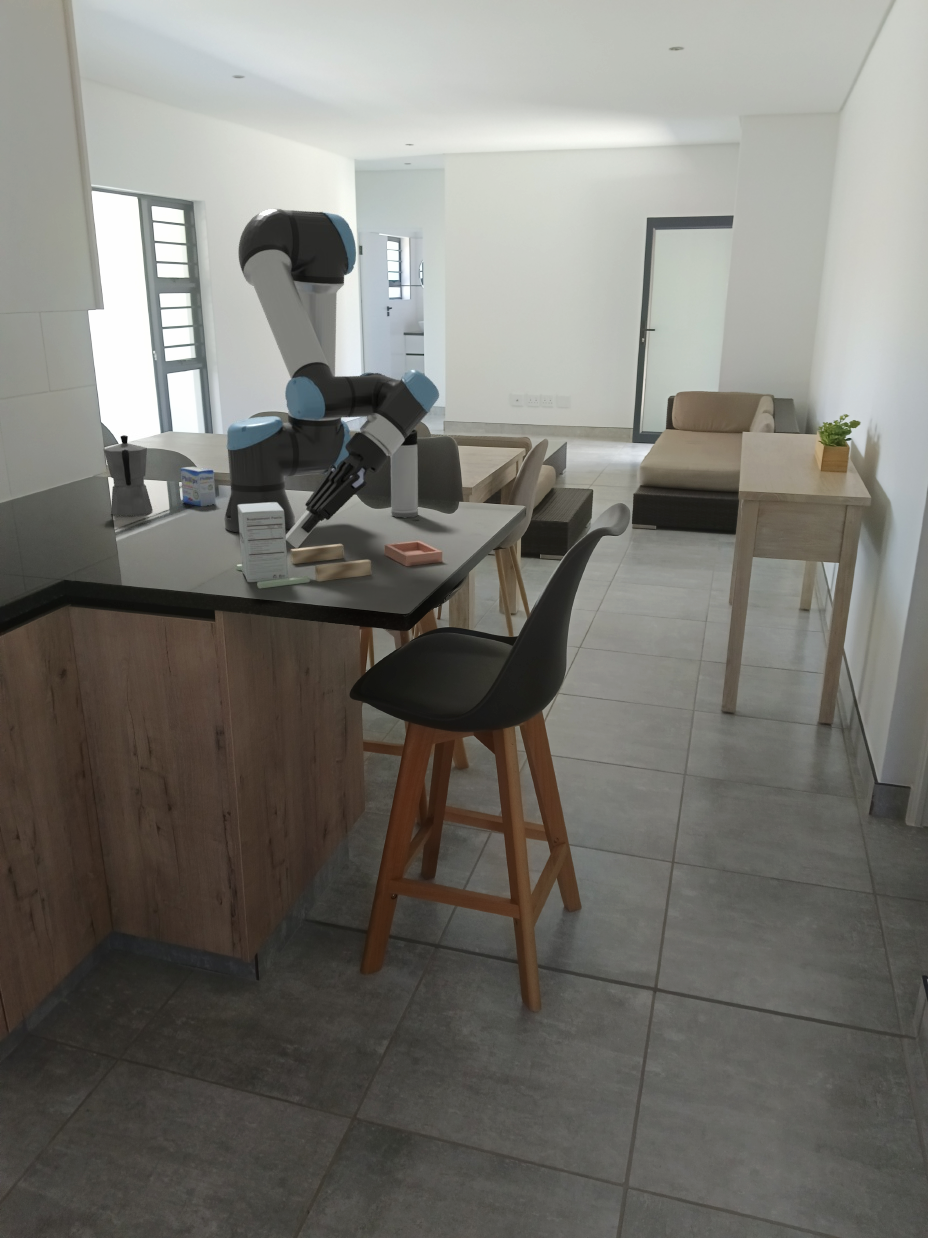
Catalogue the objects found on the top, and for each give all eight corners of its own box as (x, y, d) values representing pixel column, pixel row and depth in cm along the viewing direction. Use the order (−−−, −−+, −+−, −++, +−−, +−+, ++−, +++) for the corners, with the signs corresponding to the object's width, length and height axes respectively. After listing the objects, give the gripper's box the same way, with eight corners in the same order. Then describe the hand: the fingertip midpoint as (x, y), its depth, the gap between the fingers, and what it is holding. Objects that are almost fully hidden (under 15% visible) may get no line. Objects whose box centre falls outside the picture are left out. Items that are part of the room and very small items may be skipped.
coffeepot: (111, 508, 221) (102, 432, 215) (152, 506, 224) (145, 431, 218) (110, 521, 207) (100, 440, 202) (154, 519, 210) (146, 439, 205)
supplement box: (241, 572, 167) (236, 503, 163) (282, 569, 169) (278, 501, 165) (246, 583, 160) (241, 511, 157) (288, 579, 163) (285, 509, 159)
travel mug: (423, 513, 218) (422, 428, 212) (410, 519, 213) (409, 431, 206) (400, 511, 221) (399, 426, 215) (386, 516, 215) (385, 429, 209)
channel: (318, 581, 162) (318, 567, 161) (291, 562, 174) (290, 549, 174) (371, 574, 167) (370, 561, 166) (340, 556, 179) (340, 543, 178)
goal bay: (259, 588, 157) (259, 583, 157) (236, 568, 169) (236, 564, 169) (309, 582, 162) (309, 577, 161) (283, 563, 174) (283, 559, 173)
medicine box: (182, 502, 229) (179, 467, 226) (197, 500, 232) (195, 465, 229) (201, 506, 224) (198, 471, 221) (216, 504, 227) (213, 469, 225)
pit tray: (406, 566, 172) (406, 555, 172) (384, 554, 181) (384, 544, 180) (442, 561, 176) (442, 551, 175) (419, 550, 184) (419, 540, 184)
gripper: (346, 426, 171) (264, 523, 169) (374, 434, 160) (286, 537, 158) (373, 453, 175) (293, 548, 173) (402, 462, 164) (317, 564, 162)
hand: (290, 543), depth 165 cm, fingers closed
